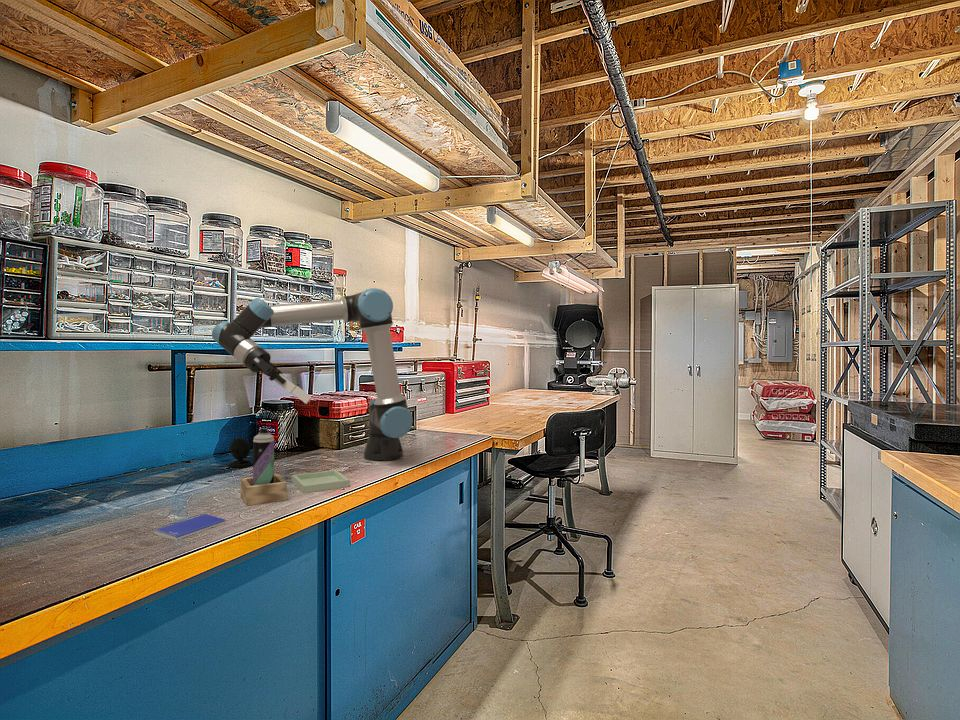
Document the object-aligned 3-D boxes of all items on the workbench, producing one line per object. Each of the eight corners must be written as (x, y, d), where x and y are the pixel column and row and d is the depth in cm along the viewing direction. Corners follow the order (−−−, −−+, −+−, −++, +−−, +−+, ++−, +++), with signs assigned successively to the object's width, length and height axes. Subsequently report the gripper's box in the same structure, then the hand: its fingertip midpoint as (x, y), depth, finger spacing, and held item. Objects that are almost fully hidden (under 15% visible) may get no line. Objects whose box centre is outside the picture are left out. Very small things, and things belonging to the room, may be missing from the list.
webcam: (256, 464, 182) (257, 437, 181) (240, 469, 175) (240, 440, 174) (239, 462, 184) (240, 435, 184) (223, 467, 177) (223, 438, 177)
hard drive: (176, 536, 113) (225, 519, 124) (153, 529, 117) (203, 513, 128) (176, 542, 113) (225, 525, 124) (153, 535, 117) (203, 519, 128)
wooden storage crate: (278, 490, 152) (278, 474, 151) (286, 500, 143) (286, 482, 143) (240, 495, 146) (240, 478, 146) (246, 505, 137) (246, 487, 137)
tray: (335, 476, 169) (335, 469, 169) (349, 486, 157) (349, 479, 157) (292, 481, 161) (292, 475, 161) (303, 493, 150) (303, 486, 150)
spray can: (249, 497, 144) (250, 427, 144) (269, 493, 148) (269, 426, 148) (257, 502, 141) (257, 430, 140) (276, 498, 144) (277, 428, 144)
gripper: (261, 376, 172) (307, 413, 167) (225, 352, 148) (276, 394, 144) (277, 359, 173) (322, 396, 169) (243, 333, 150) (295, 374, 145)
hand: (301, 395), depth 156 cm, fingers open, 13 cm apart
